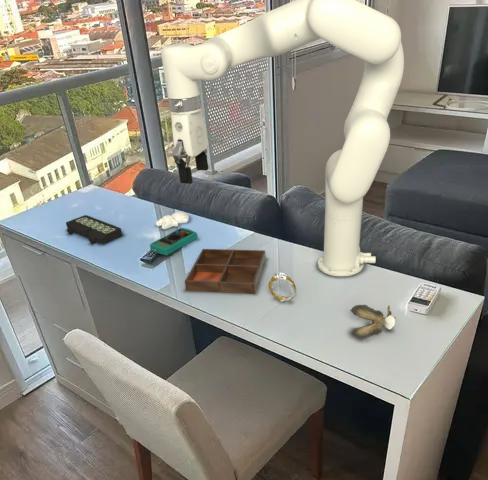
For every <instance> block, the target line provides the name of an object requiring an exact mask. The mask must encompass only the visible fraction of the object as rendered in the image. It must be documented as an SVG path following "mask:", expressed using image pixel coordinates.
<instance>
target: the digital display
mask: <svg viewBox="0 0 488 480" xmlns="http://www.w3.org/2000/svg"><path fill="white" fill-rule="evenodd" d="M65 225H66V228H67V229H66V231H67V234H68V235H72V234H77V235H79V236H81V237H84V238H86V239H88V241H89V243H90V244H91V245H94V244H96V243H98V244H100V245H105V244H107V243H109V242H112V241H115V240H117V239H119V238H122V237H123V231H122V228H121V227H120V226H116V225H114V224H111V223H108V222H105V221H103V220H101V219H98V218H95V217H93V216H89V215H87V214H84V215H81V216H78V217H75V218H74V219H71V220H69V221H68V220H67V221H66V222H65Z"/></svg>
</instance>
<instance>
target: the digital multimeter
mask: <svg viewBox="0 0 488 480" xmlns="http://www.w3.org/2000/svg"><path fill="white" fill-rule="evenodd" d="M197 239H198V233H197V232H196V231H194V230H192V229H189V228H185V227H179V228H178V229H175V230H174V231H172V232H170V233H168V234H166V235H164V236H163V237H160V238H159V239H157V240H155V241H152V242H151V243H149V248H150V251H152V252H154V253H156V254H159V255H162V256H165V257H168V256H169V255H171V254H173V253H175V252H177V251H178V250H180V249H182V248H184V247H185V246H187V245H188V244H191V243H192V242H194V241H196V240H197ZM152 249H156V250H158V251H159V252H157V251H154V250H152Z"/></svg>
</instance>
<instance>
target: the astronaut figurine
mask: <svg viewBox="0 0 488 480" xmlns="http://www.w3.org/2000/svg"><path fill="white" fill-rule="evenodd" d="M189 220H190V217H189V215H188V213H186V212H184V211H175V212H173V213H172V214H171V215H170V214H167V215H163V216H162V217H161V218H159V219H158V220H157V221H156V222H155V226H156V227H161V230H167V229H170V228H172V227H175V228H177V227H179V224H186V223H188V222H190V221H189Z"/></svg>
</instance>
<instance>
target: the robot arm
mask: <svg viewBox="0 0 488 480" xmlns="http://www.w3.org/2000/svg"><path fill="white" fill-rule="evenodd" d="M401 30H402V29H401V27H400V25H399V24H398V22H397V20H395V19H394V18H392V17H391V16H389V15H388V14H386V13H383V12H380V11H378V10H377V9H375V8H373V7H370V6H368V5H367V4H365V3H362V2H361V1H359V0H292V1H290V2H288V3H285V4H282V5H281V6H278V7H276V8H274V9H271V10H269V11H266V12H265V13H262V14H260V15H259V16H257V17H255V18H253V19H251V20H249V21H248V22H245V23H243V24H240V25H238V26H236V27H233V28H230V29H229V30H227V31H224V32H222V33H220V34H217V35H214V36H212V37H210V38H209V39H207V40H205V41H204V42H202V43H200V44H196V45H195V44H194V45H192V44H190V43H186V42H185V43H184V42H183V43H181V42H179V43H173V44H171V43H170V44H167V45H165V46H163V47H162V49H161V52H160V54H161V63H162V69H163V76H164V82H165V88H166V94H167V101H168V108H169V113H170V114H171V130H172V131H171V132H172V139H173V141H172V142H173V147H174V149H173V151H172V154H171V155H172V158H173V160H174V164H175V165H176V168H177V170H178V176H179V182H180V183H181V184H190V185H191V184H193V174H192V167H191V166H190V163H191V162H190V161H191V158H193V159H194V161H195V168H196V171H208V170H209V162H208V150H207V148H208V147H209V140H208V133H207V126H206V122H205V116H204V112H203V109H202V102H201V101H202V99H201V93H200V84H199V83H200V82H199V81H206V82H214V81H218V80H220V79H221V78H223V77H224V76H225V74H226V73H227V71H228V70H230V69H233V68H235V67H238V66H239V65H243V64H245V63H248V62H250V61H253V60H257V59H261V58H275V57H278V56H282V55H285V54H286V53H289V52H291V51H293V50H296V49H298V48H300V47H303V46H306V45H309V44H311V43H313V42H316V41H318V40H320V39H321V40H323V41H325V42H326V43H328V44H330V45H332V46H333V47H336V48H337V49H339V50H342V51H344V52H346V53H348V54H350V55H352V56H355V58H357V59H360V60H362V61H364V62H363V63H364V64H363V65H364V67H363V69H364V70H363V74H362V77H361V81H360V84H359V87H358V90H357V92H356V95H355V97H354V100H353V103H352V105H351V107H350V110H349V112H348V114H347V117H346V119H345V121H344V125H343V135H344V139H345V140H344V143H343V145H342V148H341V149H338V150H337V151H335V152H333V153H332V154H331V155H330V156H329V158H328V159H327V162H326V164H325V169H324V170H325V171H324V181H325V182H324V184H325V186H324V187H325V188H324V189H325V190H324V191H325V192H324V193H325V194H324V196H325V198H324V201H325V202H324V226H323V227H324V228H323V229H324V230H323V255H321V256H320V257H319V258H318V259H317V268H318V269H319V270H320V271H321V272H322V273H323V274H326V275H329V276H332V277H350V276H354V275H357V274H358V273H360V272H362V271H363V269H364V265H365V264H376V262H377V261H376V260H377V259H376V258H377V256H375V255H372V252H363V251H361V247H360V245H361V244H360V242H361V231H362V217H363V205H364V197H365V196H366V194H367V193H368V192H369V190H370V188H371V186H372V184H373V182H374V180H375V177H376V176H377V173H378V171H379V169H380V167H381V164H382V162H383V160H384V158H385V156H386V153H387V151H388V148H389V145H390V141H391V129H390V125H389V123H388V117H389V115H390V112H391V110H392V108H393V105H394V102H395V99H396V97H397V94H398V91H399V89H400V86H401V84H402V81H403V76H404V70H405V55H404V47H403V43H402V31H401ZM184 159H185V160H184Z"/></svg>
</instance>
